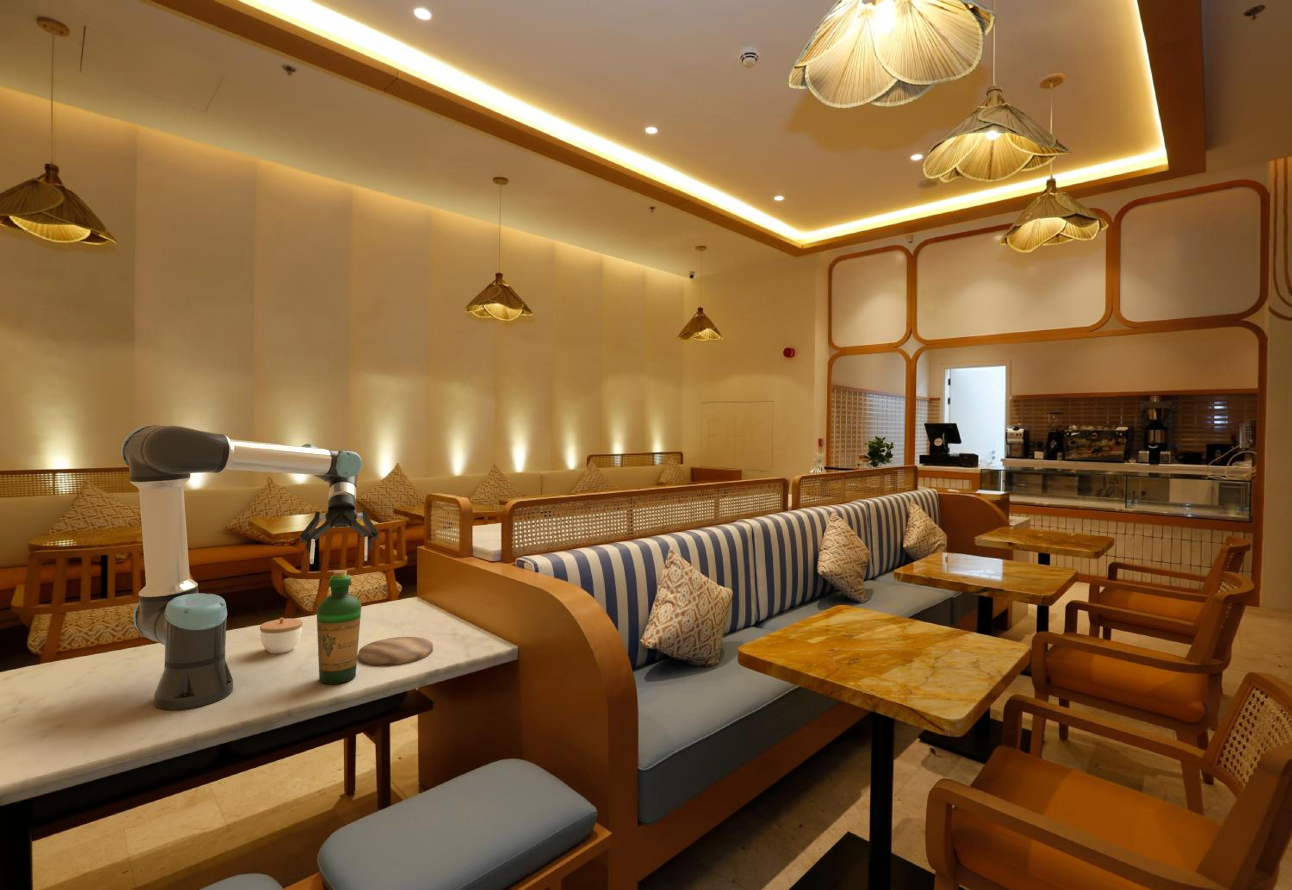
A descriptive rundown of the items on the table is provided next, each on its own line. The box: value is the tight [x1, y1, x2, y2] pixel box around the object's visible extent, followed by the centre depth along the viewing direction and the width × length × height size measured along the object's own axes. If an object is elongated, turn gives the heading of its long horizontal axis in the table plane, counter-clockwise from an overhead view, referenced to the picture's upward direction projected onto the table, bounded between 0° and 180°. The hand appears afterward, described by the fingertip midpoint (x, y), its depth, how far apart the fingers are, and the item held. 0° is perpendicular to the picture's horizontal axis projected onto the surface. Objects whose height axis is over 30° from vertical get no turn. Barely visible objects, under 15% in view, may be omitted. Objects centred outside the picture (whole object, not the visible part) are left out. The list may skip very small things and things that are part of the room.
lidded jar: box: [259, 617, 303, 655], centre depth 176 cm, size 11×11×9 cm
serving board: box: [358, 636, 434, 667], centre depth 176 cm, size 20×20×2 cm
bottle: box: [316, 569, 362, 685], centre depth 156 cm, size 11×11×28 cm
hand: (339, 559), depth 169 cm, fingers open, 13 cm apart
